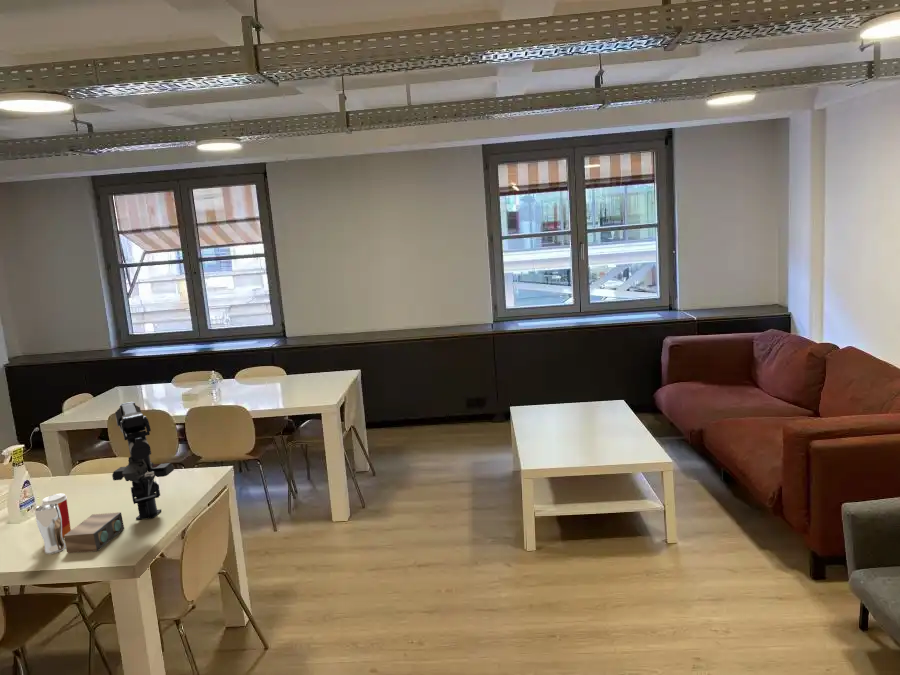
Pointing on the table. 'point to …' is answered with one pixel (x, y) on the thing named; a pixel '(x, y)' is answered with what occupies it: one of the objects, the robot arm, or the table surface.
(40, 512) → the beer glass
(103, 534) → the dowel
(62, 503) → the red canister
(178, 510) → the table surface
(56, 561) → the table surface
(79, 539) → the socket block
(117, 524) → the dowel
